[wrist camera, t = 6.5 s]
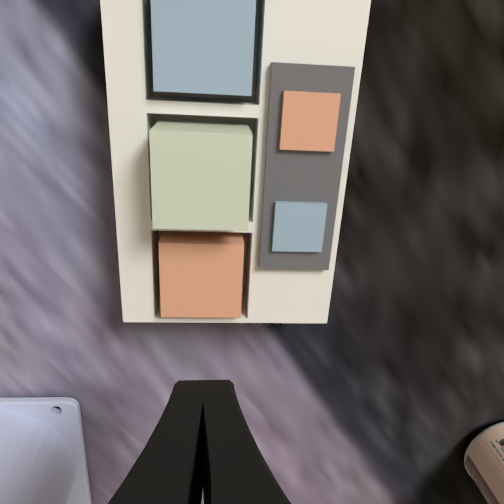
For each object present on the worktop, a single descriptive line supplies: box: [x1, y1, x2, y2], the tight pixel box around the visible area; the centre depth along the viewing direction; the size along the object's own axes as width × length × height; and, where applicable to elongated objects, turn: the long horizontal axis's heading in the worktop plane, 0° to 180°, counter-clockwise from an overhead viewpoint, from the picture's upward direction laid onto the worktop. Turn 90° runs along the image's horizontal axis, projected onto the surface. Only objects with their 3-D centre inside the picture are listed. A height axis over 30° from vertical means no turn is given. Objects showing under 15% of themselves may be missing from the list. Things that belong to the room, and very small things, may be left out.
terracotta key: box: [158, 231, 244, 318], centre depth 17 cm, size 3×3×2 cm
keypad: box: [100, 0, 371, 323], centre depth 16 cm, size 8×12×4 cm, turn 177°
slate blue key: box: [151, 0, 256, 96], centre depth 14 cm, size 3×3×2 cm
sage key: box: [149, 120, 253, 231], centre depth 15 cm, size 3×3×2 cm
